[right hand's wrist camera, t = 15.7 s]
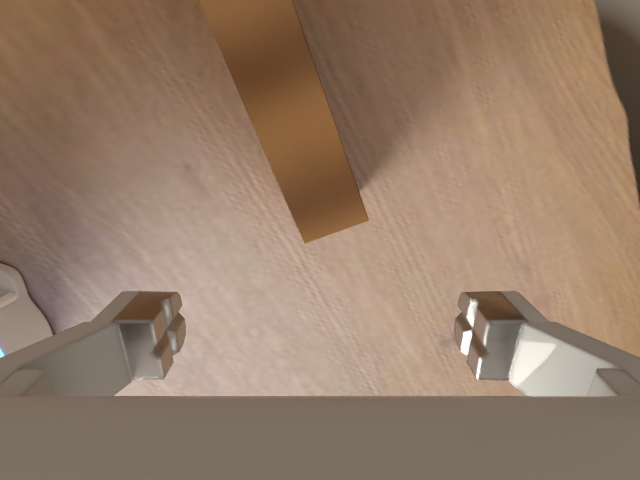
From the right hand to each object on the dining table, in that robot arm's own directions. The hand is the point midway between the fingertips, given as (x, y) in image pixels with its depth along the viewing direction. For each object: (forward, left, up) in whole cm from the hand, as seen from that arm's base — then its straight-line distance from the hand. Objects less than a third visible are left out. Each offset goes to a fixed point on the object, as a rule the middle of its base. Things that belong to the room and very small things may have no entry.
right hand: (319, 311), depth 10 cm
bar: (-7, +5, -24) cm, 25 cm away
